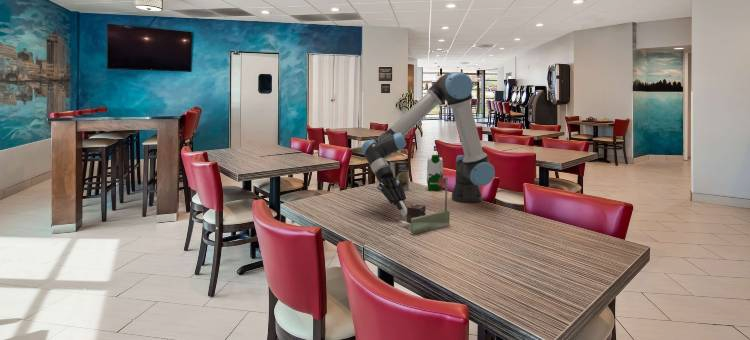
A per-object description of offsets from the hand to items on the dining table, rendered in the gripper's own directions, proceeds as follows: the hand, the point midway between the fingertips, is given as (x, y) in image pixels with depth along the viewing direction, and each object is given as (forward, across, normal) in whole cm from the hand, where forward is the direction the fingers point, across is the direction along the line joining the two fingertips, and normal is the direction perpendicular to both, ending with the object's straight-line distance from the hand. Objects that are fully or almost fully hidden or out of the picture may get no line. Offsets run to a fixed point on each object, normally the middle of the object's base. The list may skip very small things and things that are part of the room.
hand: (406, 215), depth 183 cm
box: (+5, -2, +1) cm, 5 cm away
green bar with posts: (+7, -1, +3) cm, 8 cm away
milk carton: (-25, -55, -29) cm, 67 cm away
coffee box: (-32, -39, -37) cm, 63 cm away
